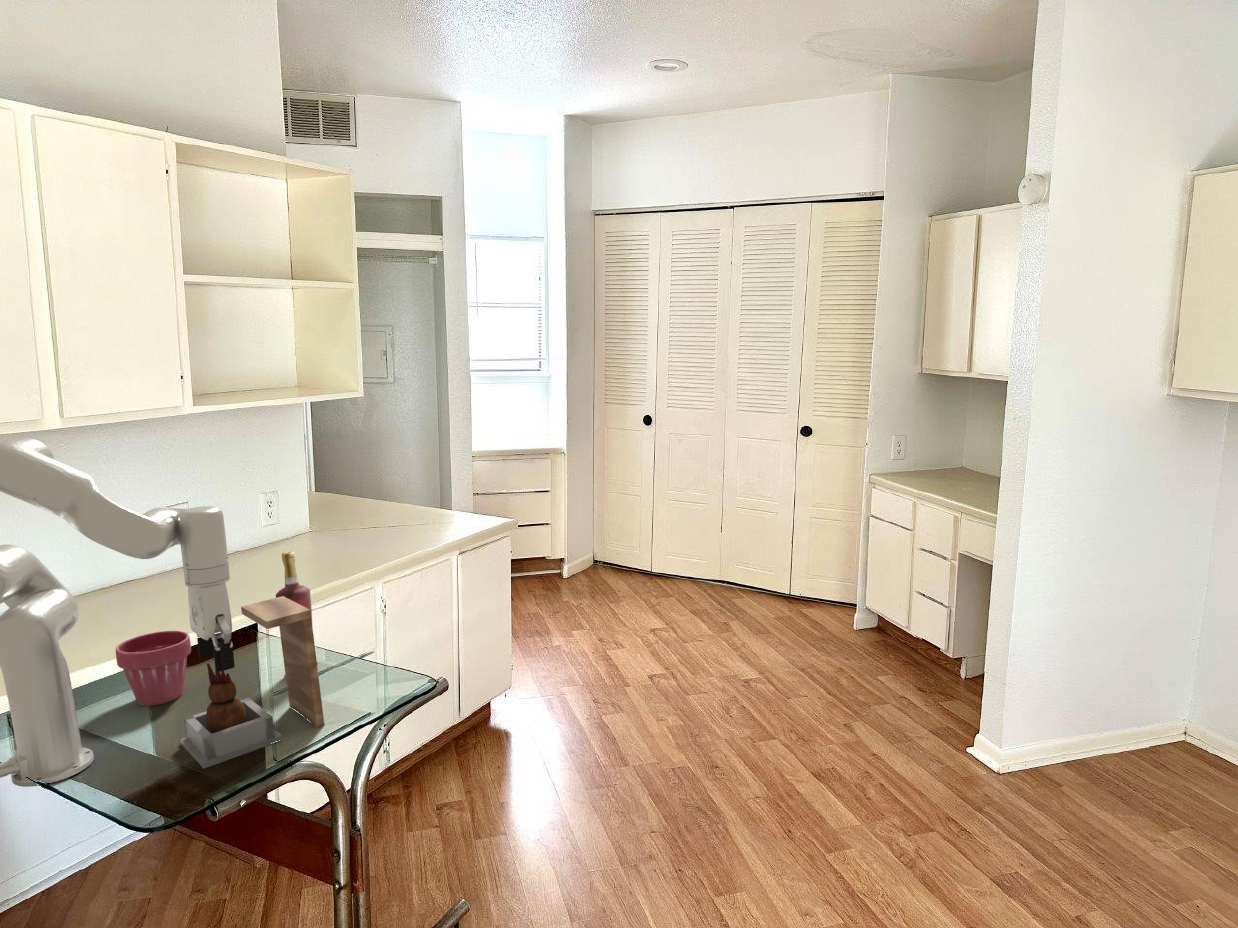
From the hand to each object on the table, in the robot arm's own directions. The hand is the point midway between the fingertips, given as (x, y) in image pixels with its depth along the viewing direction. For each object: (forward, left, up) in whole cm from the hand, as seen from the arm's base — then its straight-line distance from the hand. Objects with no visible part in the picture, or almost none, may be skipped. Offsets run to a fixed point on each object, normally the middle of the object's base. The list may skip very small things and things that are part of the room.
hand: (216, 662), depth 159 cm
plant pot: (-3, +35, -16) cm, 39 cm away
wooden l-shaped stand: (+12, 0, -16) cm, 20 cm away
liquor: (+24, +24, -16) cm, 38 cm away
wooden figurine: (0, 0, -15) cm, 15 cm away
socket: (+1, 0, -16) cm, 16 cm away
